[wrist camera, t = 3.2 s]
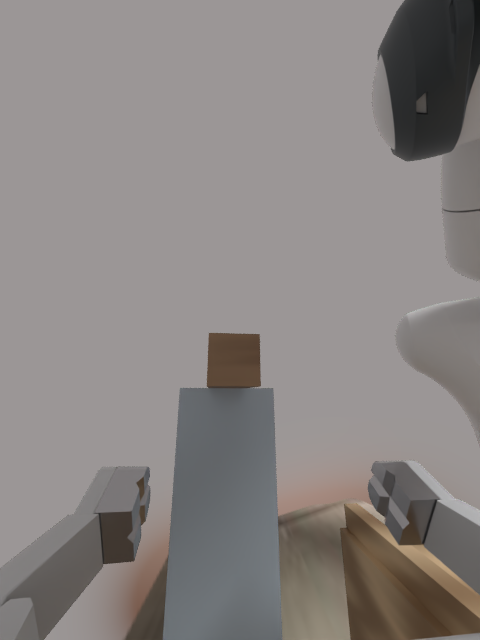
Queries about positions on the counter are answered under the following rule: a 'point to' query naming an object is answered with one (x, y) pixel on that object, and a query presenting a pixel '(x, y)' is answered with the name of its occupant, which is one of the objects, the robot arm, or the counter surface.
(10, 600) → the robot arm
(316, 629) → the counter surface
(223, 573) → the stand
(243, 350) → the walnut bar
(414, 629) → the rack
